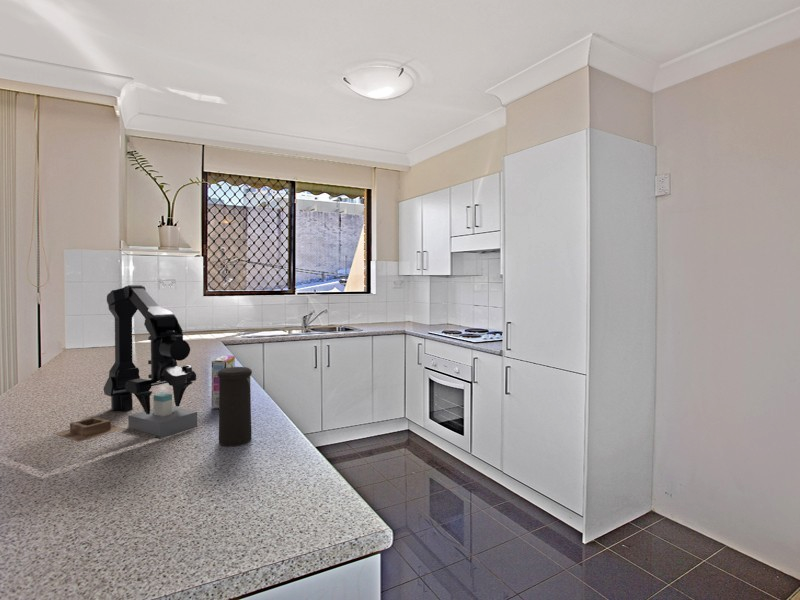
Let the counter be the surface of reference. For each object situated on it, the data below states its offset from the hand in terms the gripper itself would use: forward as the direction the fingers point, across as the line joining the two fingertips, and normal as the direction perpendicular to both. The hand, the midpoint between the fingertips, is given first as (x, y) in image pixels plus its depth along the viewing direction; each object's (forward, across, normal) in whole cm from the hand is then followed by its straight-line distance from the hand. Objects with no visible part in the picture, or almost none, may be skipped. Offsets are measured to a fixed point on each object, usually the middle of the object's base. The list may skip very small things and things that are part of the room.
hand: (163, 410), depth 134 cm
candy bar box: (+6, +26, +5) cm, 27 cm away
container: (+6, +3, -26) cm, 27 cm away
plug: (+6, 0, 0) cm, 6 cm away
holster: (+6, -13, +13) cm, 19 cm away
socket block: (+6, 0, 0) cm, 6 cm away
